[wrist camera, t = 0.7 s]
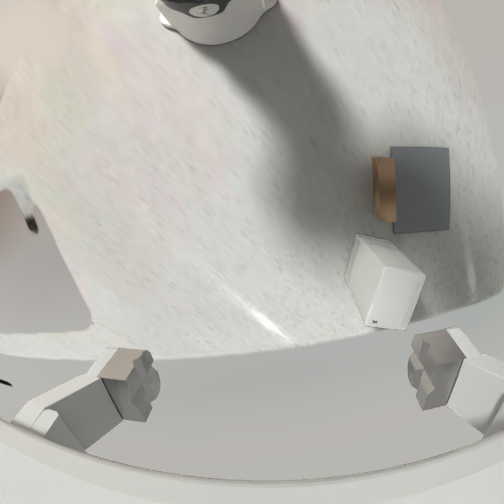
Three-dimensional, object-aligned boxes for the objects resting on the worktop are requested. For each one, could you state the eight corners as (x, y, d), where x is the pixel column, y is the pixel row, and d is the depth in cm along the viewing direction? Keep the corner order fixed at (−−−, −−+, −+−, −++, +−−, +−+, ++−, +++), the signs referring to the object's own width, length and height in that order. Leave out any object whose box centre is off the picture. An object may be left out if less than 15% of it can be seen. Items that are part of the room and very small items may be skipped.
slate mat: (390, 146, 42) (391, 147, 41) (447, 147, 41) (448, 147, 40) (393, 233, 46) (394, 233, 46) (447, 228, 45) (448, 229, 45)
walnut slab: (371, 156, 43) (383, 158, 37) (381, 156, 43) (395, 158, 37) (374, 213, 46) (386, 222, 40) (384, 212, 46) (397, 221, 40)
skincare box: (376, 283, 50) (406, 334, 35) (340, 277, 50) (361, 329, 35) (390, 238, 47) (430, 276, 32) (353, 230, 47) (383, 267, 32)
